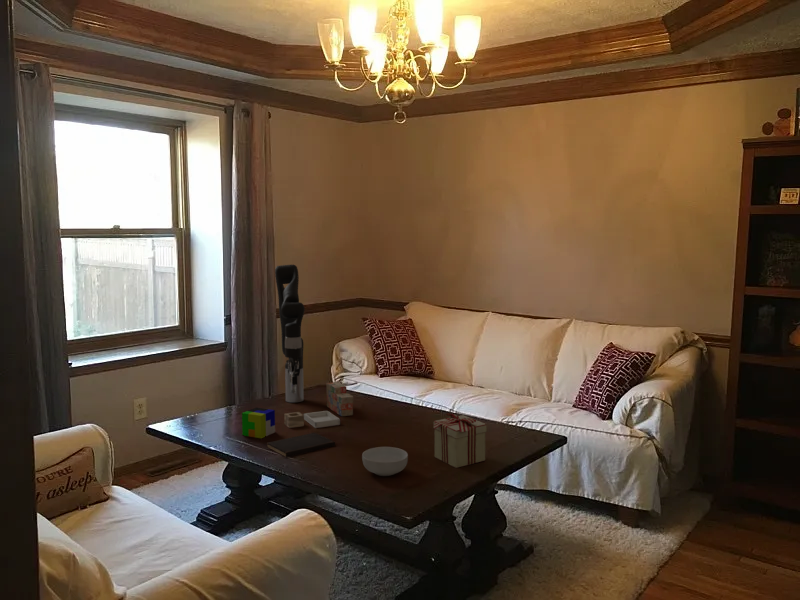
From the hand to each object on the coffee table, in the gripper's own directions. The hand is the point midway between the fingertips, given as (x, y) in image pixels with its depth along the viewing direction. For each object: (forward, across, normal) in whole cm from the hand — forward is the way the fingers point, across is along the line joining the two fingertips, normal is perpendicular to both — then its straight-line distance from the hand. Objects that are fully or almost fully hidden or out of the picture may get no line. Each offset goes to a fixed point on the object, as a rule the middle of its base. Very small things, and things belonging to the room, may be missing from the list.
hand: (293, 383), depth 305 cm
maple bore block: (+19, 0, 0) cm, 19 cm away
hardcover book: (+20, +31, -7) cm, 37 cm away
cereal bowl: (+19, +73, +11) cm, 76 cm away
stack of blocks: (+20, -14, +28) cm, 37 cm away
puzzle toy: (+19, +6, -18) cm, 27 cm away
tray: (+19, +1, +13) cm, 23 cm away
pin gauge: (+4, 0, 0) cm, 4 cm away
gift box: (+19, +74, +42) cm, 87 cm away
